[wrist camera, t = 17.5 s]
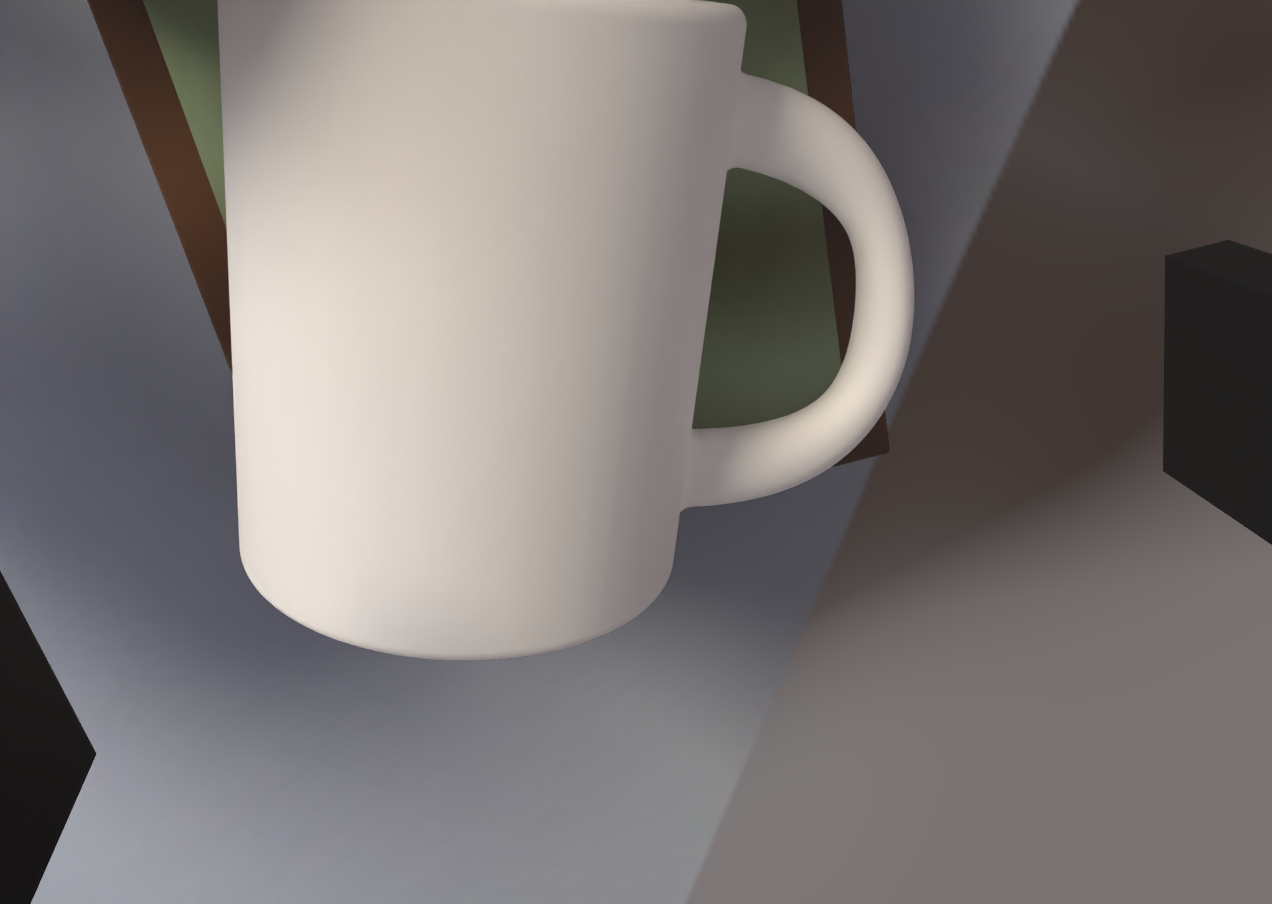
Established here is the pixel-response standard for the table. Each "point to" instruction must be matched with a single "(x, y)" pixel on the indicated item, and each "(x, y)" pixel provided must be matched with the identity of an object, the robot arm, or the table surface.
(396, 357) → the mug
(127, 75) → the small table
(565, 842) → the table surface
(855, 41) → the table surface
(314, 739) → the table surface
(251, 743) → the table surface
